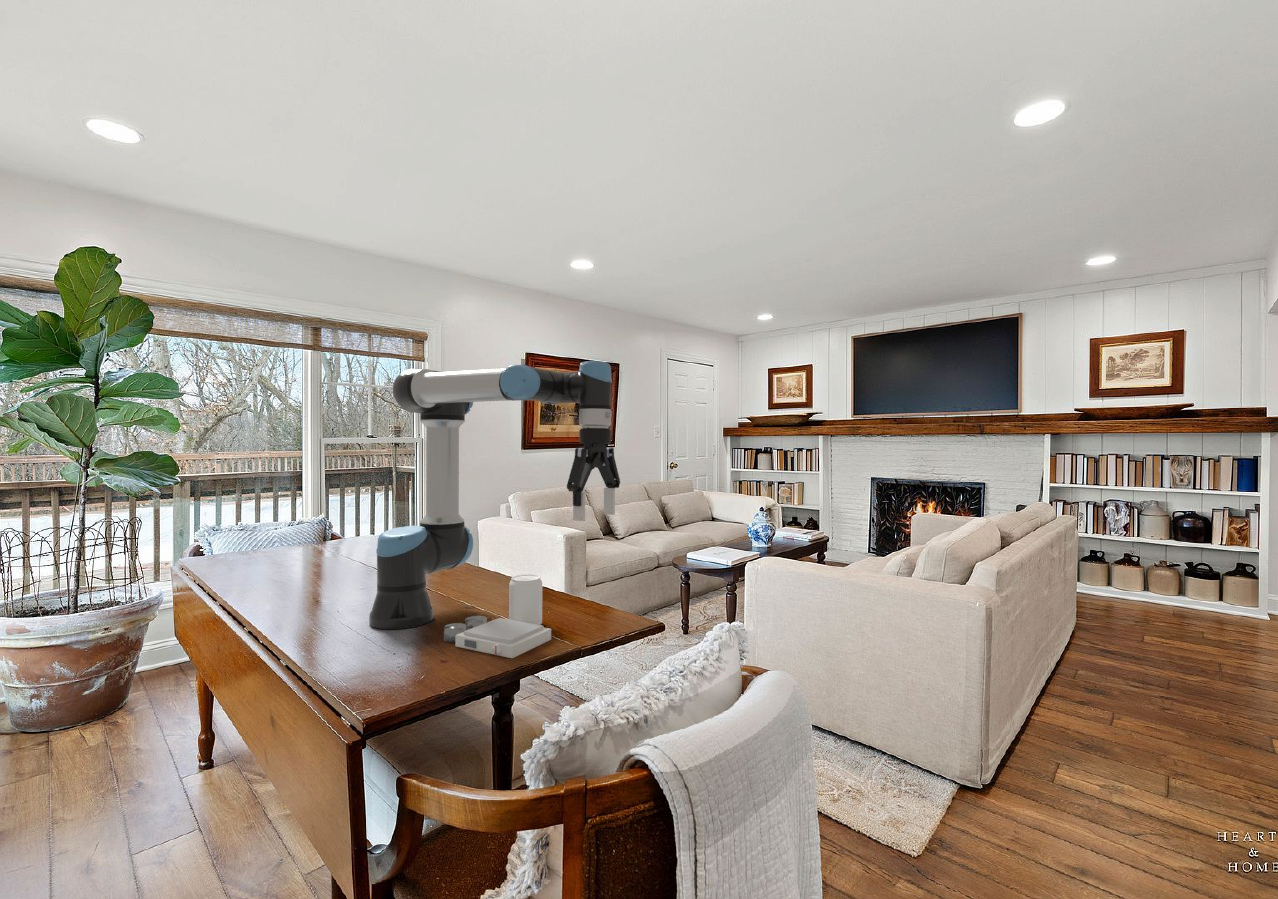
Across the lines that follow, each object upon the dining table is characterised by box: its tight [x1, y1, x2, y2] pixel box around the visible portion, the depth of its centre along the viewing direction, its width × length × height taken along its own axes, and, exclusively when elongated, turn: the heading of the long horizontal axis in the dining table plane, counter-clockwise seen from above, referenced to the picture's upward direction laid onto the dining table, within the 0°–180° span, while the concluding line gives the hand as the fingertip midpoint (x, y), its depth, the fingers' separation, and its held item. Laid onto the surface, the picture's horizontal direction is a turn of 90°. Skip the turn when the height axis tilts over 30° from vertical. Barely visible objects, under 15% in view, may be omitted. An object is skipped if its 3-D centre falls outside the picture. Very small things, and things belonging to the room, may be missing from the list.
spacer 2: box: [464, 615, 488, 630], centre depth 147 cm, size 5×5×3 cm
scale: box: [454, 617, 552, 659], centre depth 138 cm, size 16×15×3 cm
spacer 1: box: [443, 622, 466, 643], centre depth 141 cm, size 5×5×3 cm
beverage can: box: [508, 574, 543, 625], centre depth 152 cm, size 8×8×12 cm
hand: (594, 517), depth 144 cm, fingers open, 13 cm apart
